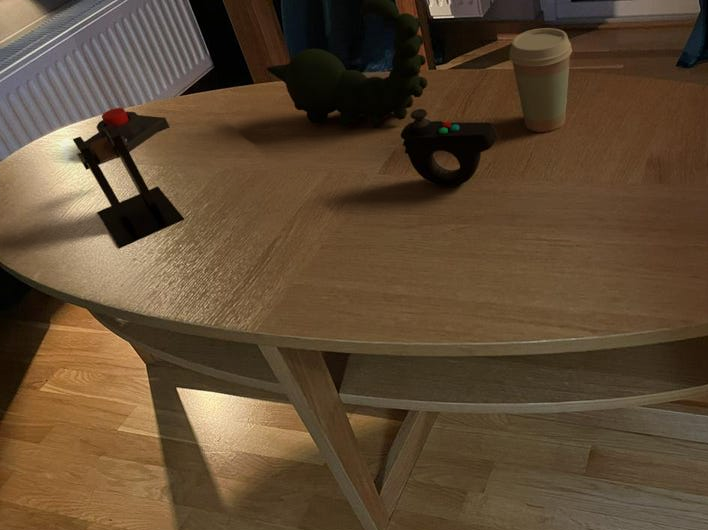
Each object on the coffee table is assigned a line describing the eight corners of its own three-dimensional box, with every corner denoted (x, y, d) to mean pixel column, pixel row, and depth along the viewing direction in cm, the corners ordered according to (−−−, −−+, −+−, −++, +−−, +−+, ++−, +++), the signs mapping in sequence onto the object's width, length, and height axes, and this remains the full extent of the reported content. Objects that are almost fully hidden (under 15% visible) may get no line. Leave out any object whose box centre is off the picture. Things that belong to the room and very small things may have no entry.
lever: (88, 173, 99) (78, 156, 98) (125, 157, 101) (116, 141, 100) (87, 166, 88) (76, 148, 87) (129, 149, 90) (119, 131, 89)
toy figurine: (436, 113, 113) (291, 106, 117) (424, -13, 100) (261, -17, 104) (421, 142, 107) (268, 133, 111) (407, 11, 93) (233, 6, 97)
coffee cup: (586, 123, 101) (584, 37, 92) (535, 143, 99) (528, 57, 90) (554, 103, 107) (549, 21, 98) (505, 121, 104) (496, 39, 96)
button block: (124, 163, 111) (112, 139, 109) (85, 157, 115) (72, 135, 112) (171, 129, 118) (160, 107, 115) (132, 125, 122) (121, 103, 119)
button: (118, 129, 112) (112, 119, 111) (102, 127, 114) (96, 117, 112) (134, 118, 114) (128, 108, 113) (118, 117, 116) (113, 107, 115)
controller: (418, 174, 97) (403, 104, 90) (504, 175, 94) (496, 103, 87) (408, 191, 94) (392, 120, 87) (497, 192, 91) (488, 119, 84)
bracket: (100, 219, 100) (50, 135, 91) (161, 193, 103) (118, 110, 94) (123, 254, 92) (70, 167, 83) (187, 225, 95) (143, 138, 86)
